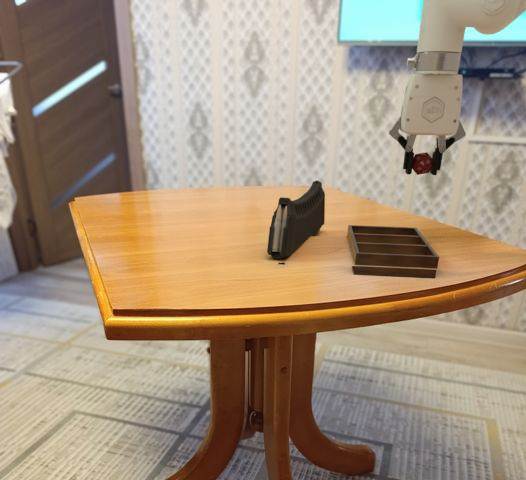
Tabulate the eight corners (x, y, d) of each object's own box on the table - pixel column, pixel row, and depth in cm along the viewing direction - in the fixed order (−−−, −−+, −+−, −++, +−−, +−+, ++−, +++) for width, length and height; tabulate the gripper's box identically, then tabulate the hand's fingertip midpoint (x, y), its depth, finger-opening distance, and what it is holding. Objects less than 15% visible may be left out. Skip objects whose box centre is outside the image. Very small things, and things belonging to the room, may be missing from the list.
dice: (405, 174, 99) (408, 152, 97) (420, 172, 101) (423, 151, 99) (420, 176, 96) (424, 154, 94) (435, 174, 98) (439, 152, 96)
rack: (413, 245, 100) (416, 227, 99) (435, 278, 83) (439, 256, 81) (346, 243, 101) (348, 224, 100) (353, 274, 84) (356, 253, 82)
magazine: (314, 184, 109) (277, 154, 81) (329, 185, 108) (297, 155, 80) (304, 264, 112) (264, 262, 84) (318, 266, 111) (283, 265, 83)
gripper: (391, 63, 87) (378, 175, 96) (491, 65, 86) (470, 178, 94) (386, 66, 94) (374, 170, 102) (479, 67, 93) (460, 172, 101)
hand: (420, 172), depth 98 cm, fingers closed on dice, 4 cm apart
